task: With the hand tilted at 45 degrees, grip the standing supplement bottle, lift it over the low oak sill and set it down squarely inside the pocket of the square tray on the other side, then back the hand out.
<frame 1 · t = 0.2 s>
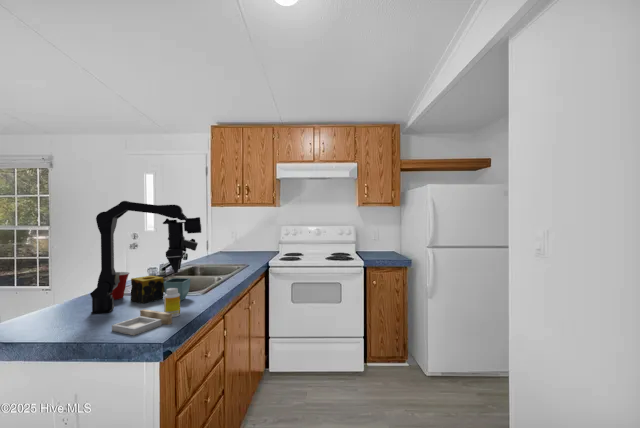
hand: (177, 271, 142), 14 cm above the counter, tool pointing down, fingers open, 9 cm apart
oak sill: (155, 321, 120), on the counter
supplement bottle: (172, 316, 127), on the counter
square tray: (137, 328, 114), on the counter
flower pot: (177, 300, 151), on the counter
yellow and black cube: (147, 300, 151), on the counter
plastic cup: (116, 298, 155), on the counter
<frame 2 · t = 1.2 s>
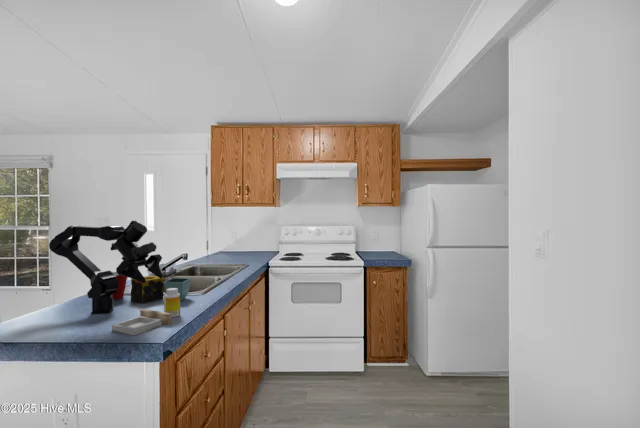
hand: (153, 279, 129), 13 cm above the counter, tool tilted 45°, fingers open, 9 cm apart
nothing on the counter moved.
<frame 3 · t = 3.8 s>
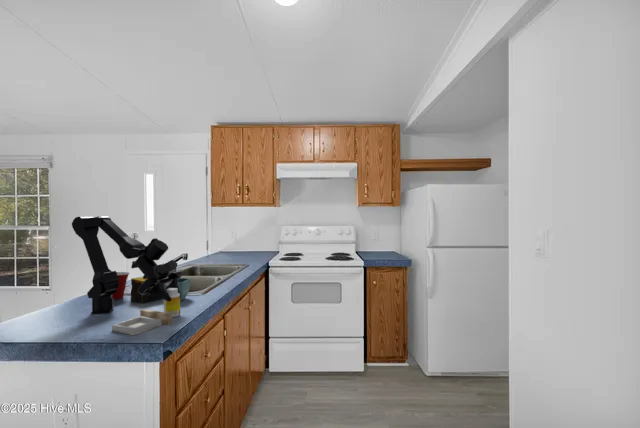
hand: (175, 298, 127), 7 cm above the counter, tool tilted 45°, fingers closed on supplement bottle, 5 cm apart
supplement bottle: (172, 316, 127), on the counter, touching gripper
everything else where it was.
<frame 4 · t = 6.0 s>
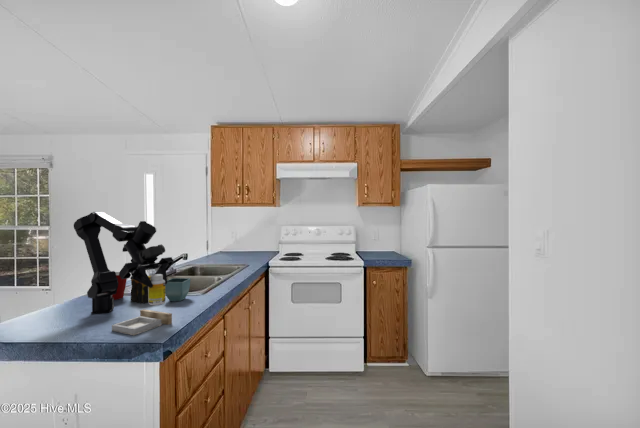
hand: (159, 285, 119), 13 cm above the counter, tool tilted 45°, fingers closed on supplement bottle, 5 cm apart
supplement bottle: (157, 304, 120), point 6 cm above the counter, touching gripper
everything else where it was.
when the fingers open (8 cm above the counter, at t = 8.3 s): supplement bottle stays where it is, resting on square tray.
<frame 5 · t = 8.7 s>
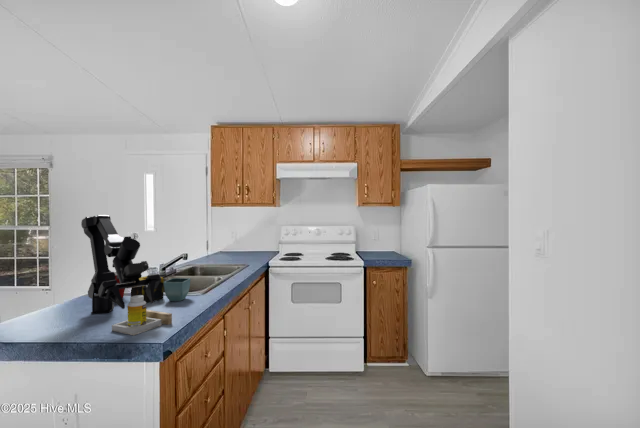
hand: (138, 305, 113), 8 cm above the counter, tool tilted 45°, fingers open, 9 cm apart
supplement bottle: (137, 327, 114), resting on square tray
everything else where it was.
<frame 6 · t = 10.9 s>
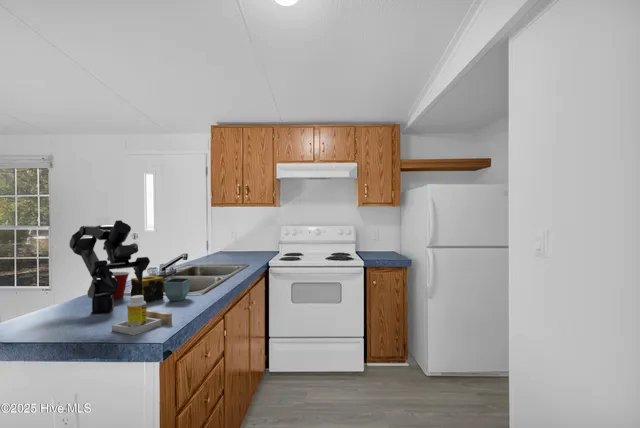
hand: (127, 284, 120), 14 cm above the counter, tool tilted 45°, fingers open, 9 cm apart
nothing on the counter moved.
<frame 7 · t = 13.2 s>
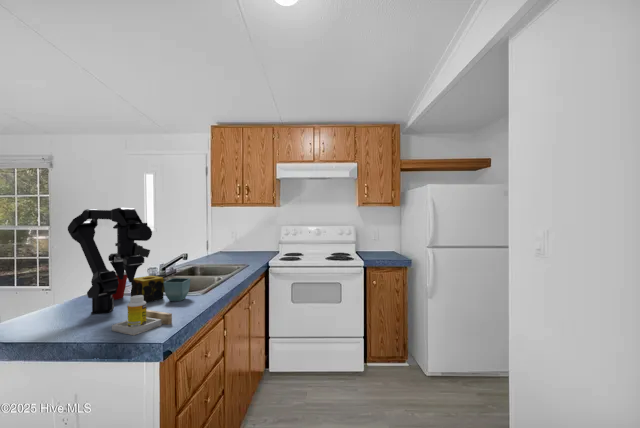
hand: (126, 280, 129), 13 cm above the counter, tool pointing down, fingers open, 9 cm apart
nothing on the counter moved.
at the end: supplement bottle 0.2 cm off-centre on the square tray, point 0.3 cm above the square tray's base; supplement bottle tilted 0°; the gripper is holding nothing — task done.
